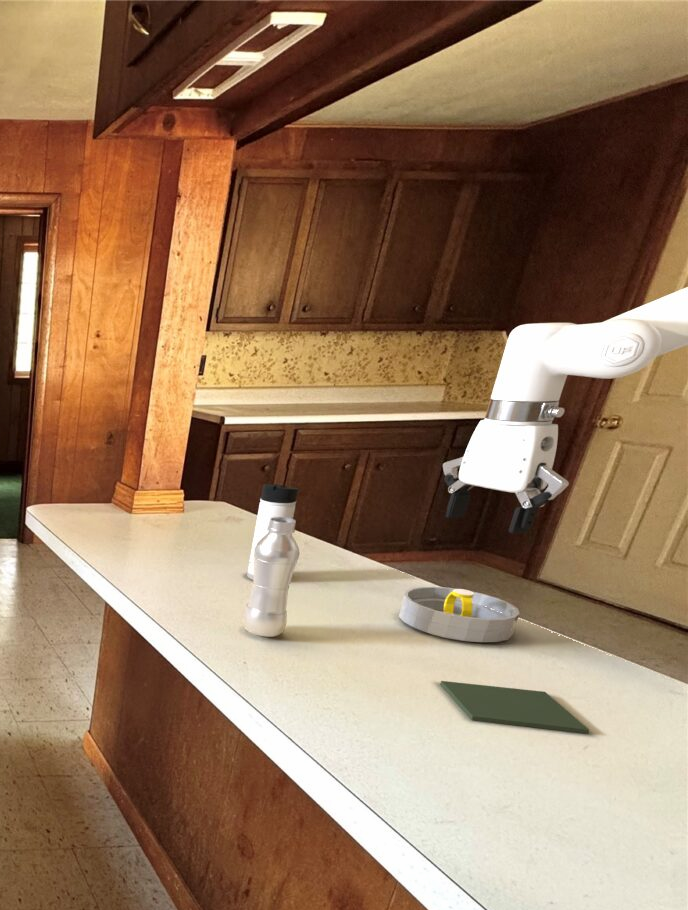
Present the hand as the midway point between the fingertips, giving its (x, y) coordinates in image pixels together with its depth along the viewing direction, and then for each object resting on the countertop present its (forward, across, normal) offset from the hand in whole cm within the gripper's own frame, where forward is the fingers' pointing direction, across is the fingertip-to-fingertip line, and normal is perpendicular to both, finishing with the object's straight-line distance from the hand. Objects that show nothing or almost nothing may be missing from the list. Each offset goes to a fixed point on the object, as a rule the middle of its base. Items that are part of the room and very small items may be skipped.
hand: (485, 524), depth 104 cm
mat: (+19, -21, +16) cm, 32 cm away
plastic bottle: (+19, +8, +30) cm, 36 cm away
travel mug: (+19, +32, +10) cm, 38 cm away
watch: (+18, +2, -2) cm, 19 cm away
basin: (+19, +2, -2) cm, 19 cm away
